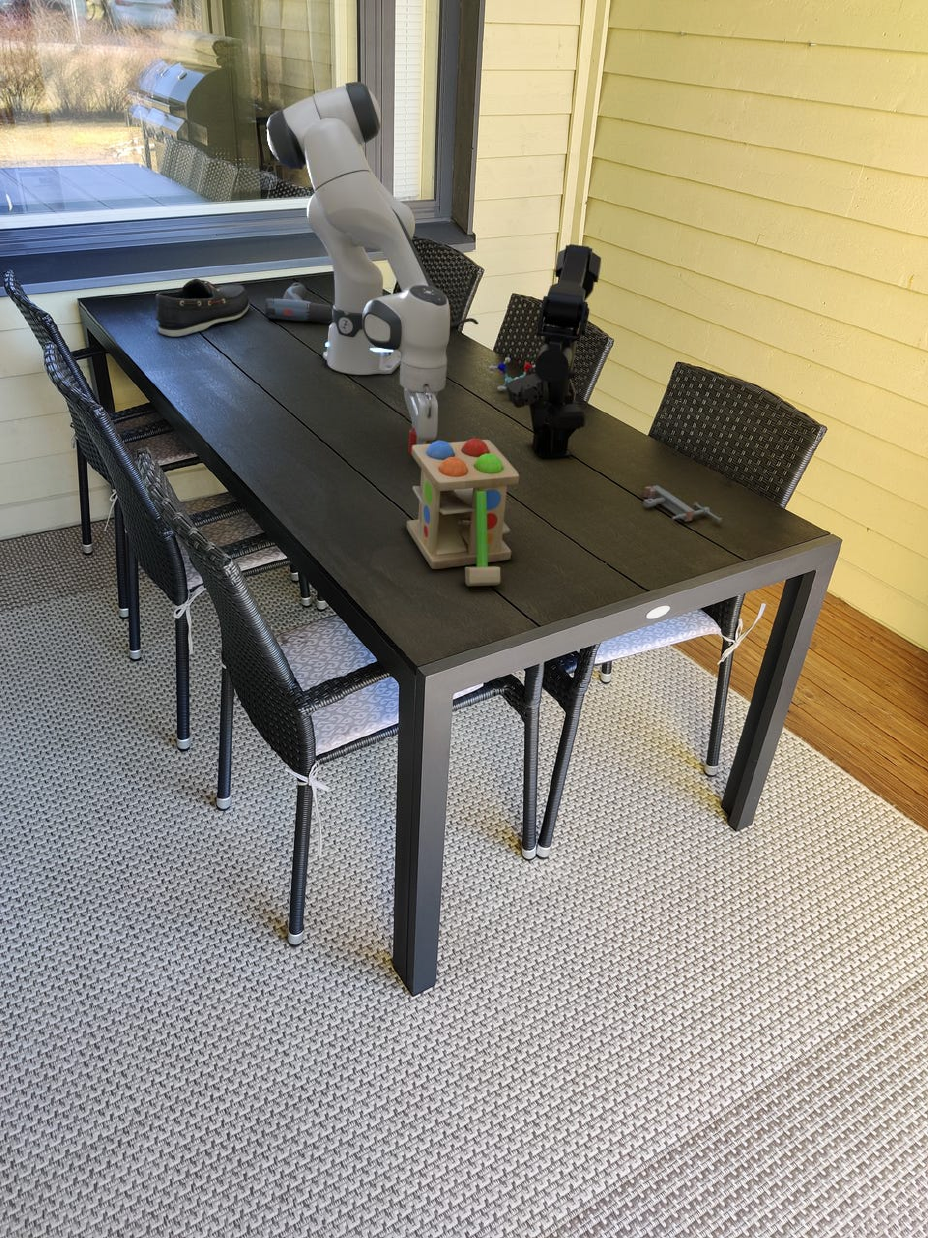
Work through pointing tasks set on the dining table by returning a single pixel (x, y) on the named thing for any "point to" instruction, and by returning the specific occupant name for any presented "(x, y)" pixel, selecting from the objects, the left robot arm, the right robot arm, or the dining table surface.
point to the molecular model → (508, 379)
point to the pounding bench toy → (463, 507)
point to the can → (413, 439)
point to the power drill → (297, 306)
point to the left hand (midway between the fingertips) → (418, 442)
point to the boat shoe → (199, 307)
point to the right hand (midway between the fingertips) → (545, 443)
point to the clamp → (655, 498)
